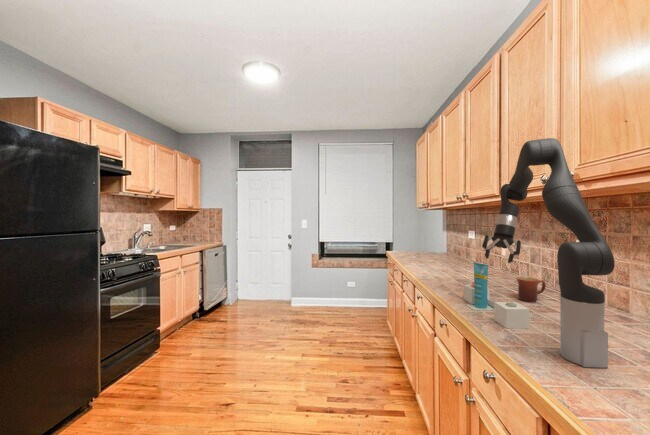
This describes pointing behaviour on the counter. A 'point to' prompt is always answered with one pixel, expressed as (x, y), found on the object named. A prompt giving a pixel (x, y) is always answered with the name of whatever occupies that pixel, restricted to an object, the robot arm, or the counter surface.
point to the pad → (479, 308)
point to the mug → (529, 288)
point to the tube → (480, 285)
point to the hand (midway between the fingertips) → (497, 260)
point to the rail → (490, 302)
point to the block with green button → (511, 315)
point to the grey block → (472, 293)
